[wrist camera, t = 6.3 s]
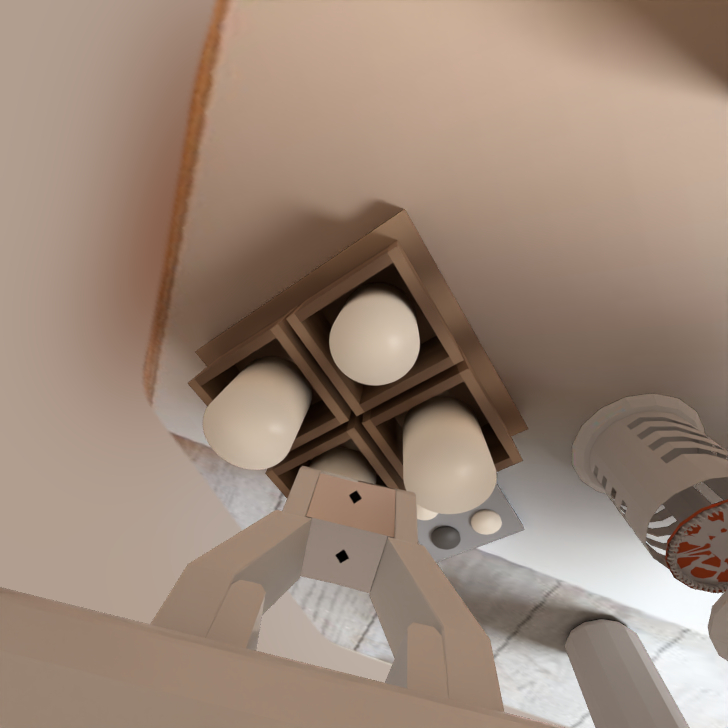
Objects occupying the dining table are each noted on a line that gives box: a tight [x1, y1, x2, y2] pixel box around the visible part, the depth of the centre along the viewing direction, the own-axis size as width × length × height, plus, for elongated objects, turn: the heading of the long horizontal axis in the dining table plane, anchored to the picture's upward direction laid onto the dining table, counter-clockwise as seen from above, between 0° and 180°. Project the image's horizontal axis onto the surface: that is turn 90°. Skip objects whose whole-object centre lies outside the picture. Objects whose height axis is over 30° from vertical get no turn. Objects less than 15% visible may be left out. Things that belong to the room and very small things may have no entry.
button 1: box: [329, 283, 420, 385], centre depth 23 cm, size 5×5×5 cm
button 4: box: [309, 447, 376, 484], centre depth 25 cm, size 5×5×5 cm
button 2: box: [203, 356, 312, 470], centre depth 23 cm, size 5×5×5 cm
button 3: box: [403, 396, 497, 514], centre depth 23 cm, size 5×5×5 cm
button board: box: [188, 209, 528, 498], centre depth 27 cm, size 18×18×6 cm
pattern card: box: [416, 483, 524, 562], centre depth 33 cm, size 9×9×1 cm
